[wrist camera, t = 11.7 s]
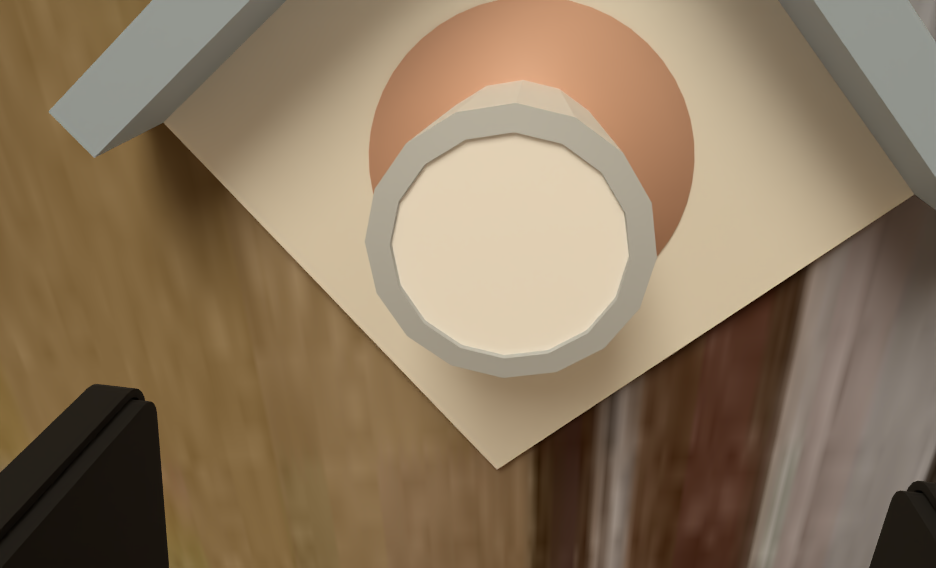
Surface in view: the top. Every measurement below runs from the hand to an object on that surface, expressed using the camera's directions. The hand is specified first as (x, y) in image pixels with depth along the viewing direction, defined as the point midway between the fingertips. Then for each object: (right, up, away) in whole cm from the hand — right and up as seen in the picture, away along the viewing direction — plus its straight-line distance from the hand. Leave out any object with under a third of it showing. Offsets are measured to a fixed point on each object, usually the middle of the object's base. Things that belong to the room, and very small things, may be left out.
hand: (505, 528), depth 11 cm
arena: (+2, +8, +15) cm, 18 cm away
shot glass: (+1, +7, +16) cm, 17 cm away
